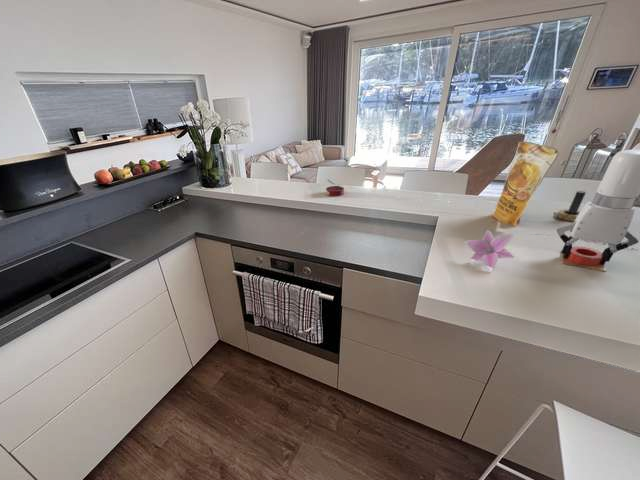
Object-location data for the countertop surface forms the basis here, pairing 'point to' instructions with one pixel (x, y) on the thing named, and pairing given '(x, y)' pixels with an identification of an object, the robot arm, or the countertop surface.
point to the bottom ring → (567, 215)
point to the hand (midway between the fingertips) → (582, 258)
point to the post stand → (573, 205)
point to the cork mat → (598, 267)
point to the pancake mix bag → (523, 180)
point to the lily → (490, 248)
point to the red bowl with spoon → (334, 190)
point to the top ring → (585, 256)
